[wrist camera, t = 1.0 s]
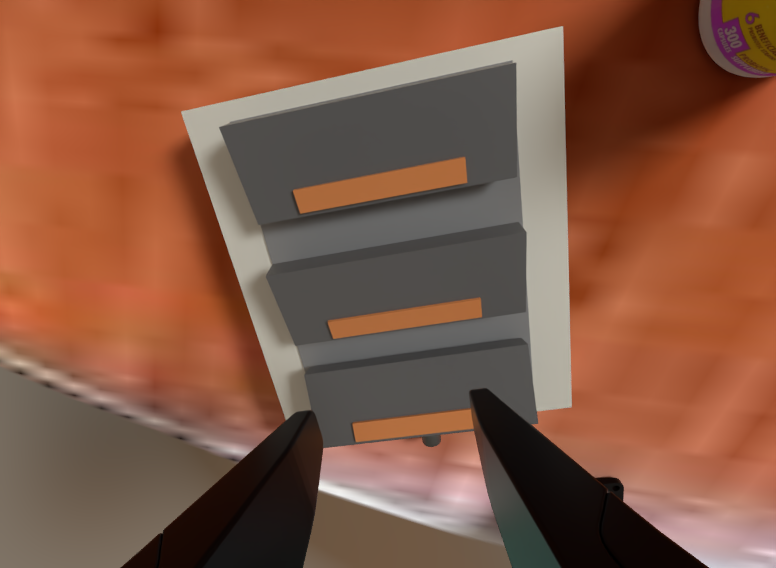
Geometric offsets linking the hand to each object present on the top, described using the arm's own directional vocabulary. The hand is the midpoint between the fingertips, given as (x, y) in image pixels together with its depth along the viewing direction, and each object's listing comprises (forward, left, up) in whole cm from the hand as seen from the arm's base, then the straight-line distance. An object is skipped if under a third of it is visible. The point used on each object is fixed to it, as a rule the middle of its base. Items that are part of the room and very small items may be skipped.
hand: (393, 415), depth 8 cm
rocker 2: (0, 0, -9) cm, 9 cm away
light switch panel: (-1, 0, -13) cm, 13 cm away
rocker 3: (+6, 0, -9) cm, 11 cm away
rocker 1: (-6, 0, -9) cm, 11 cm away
